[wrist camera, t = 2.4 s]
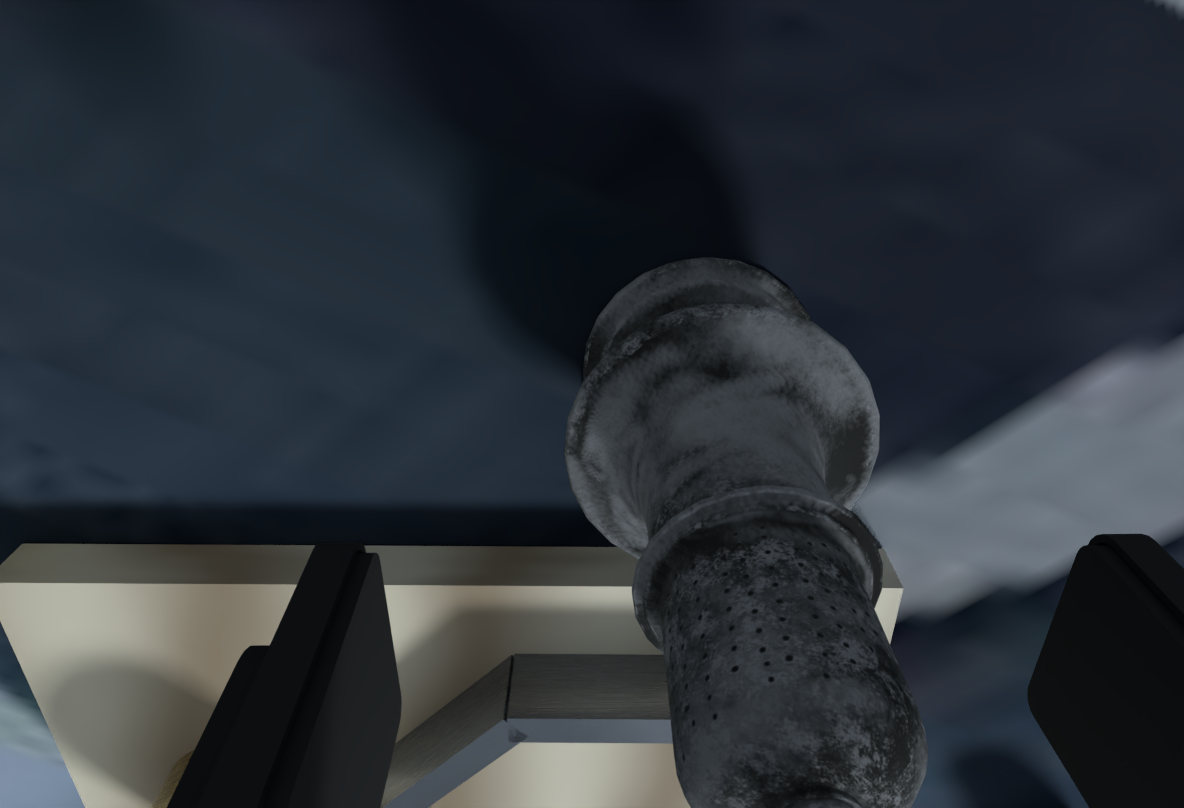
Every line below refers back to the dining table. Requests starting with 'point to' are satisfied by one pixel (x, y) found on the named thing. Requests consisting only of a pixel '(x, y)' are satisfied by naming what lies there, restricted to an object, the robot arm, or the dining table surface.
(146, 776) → the birch board
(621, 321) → the grey knobbed cylinder
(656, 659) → the ring holder
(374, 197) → the dining table surface
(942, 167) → the dining table surface
